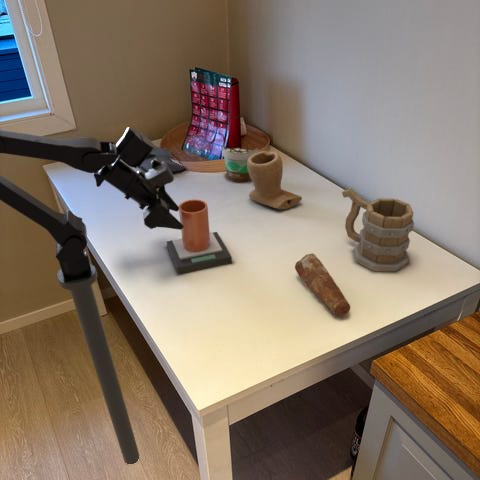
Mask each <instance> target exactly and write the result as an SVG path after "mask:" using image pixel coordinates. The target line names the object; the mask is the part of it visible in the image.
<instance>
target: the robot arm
mask: <svg viewBox="0 0 480 480" xmlns="http://www.w3.org/2000/svg"><path fill="white" fill-rule="evenodd" d="M154 145H155V144H154V143H153V141H152V140H151V139H150V138H149V137H147V136H146V135H145V134H144V133H143V132H141V131H139V130H136V129H133V128H132V127H130V126H128V127H126V129H125V131H124V133H123V135H122V136H121V137H120V138H119V140H118V141H117V142H116V141H109V140H108V141H104V140H103V141H102V140H98V139H96V138H95V137H91V136H88V137H87V136H86V137H83V136H81V137H78V136H77V137H76V136H75V137H70V138H63V139H62V138H54V137H49V136H41V135H36V134H30V133H22V132H17V131H12V130H11V131H10V130H4V129H1V128H0V154H5V155H11V156H18V157H19V156H20V157H25V158H33V159H38V160H39V159H40V160H45V161H46V160H47V161H54V162H58V163H62V164H65V165H67V166H69V167H71V168H73V169H75V170H78V171H81V172H84V173H88V174H93V178H94V179H95V185H96V187H98V188H99V187H101V185H102V184H103V183H104V181H105V182H107V184H109V185H111V186H112V187H113V188H115V189H116V190H118V191H119V192H121V193H122V194H123V195H124V199H126V200H127V201H129V199H130V200H132V201H134V202H135V203H137V204H138V208H139V209H140V210H142V211H143V210H144V209H145V210H144V211H143V212H142V216H143V223H144V226H145V227H147V228H148V229H150V230H153V229H156V228H165V229H173V230H179V231H180V230H181V229H182V228H183V227H184V226H183V225H182V224H181V223H180V220H178V218H176V217H175V216H174V215H173V214H172V212H170V211H174V212H179V205H178V204H177V203H176V202H175V201H174V199H173V198H172V197H171V196H170V195H169V193H168V192H167V191H166V185H168V184H171V183H172V182H173V181H174V180H175V177H174V172H171V170H170V168H169V167H168V164H167V163H166V162H164V161H160V160H159V159H157V158H156V159H154V160H152V161H151V162H152V169H151V168H150V169H149V171H148V172H147V171H146V172H143V170H139V169H138V170H137V171H136V170H135V169H137V168H141V164H142V163H143V162H144V161H145V159H146V158H147V157H148V156H149V154H150V153H151V152H152V151H153V149H154V148H155V146H156V145H155V146H154ZM133 168H134V169H133ZM0 201H1V202H2V203H4V204H5V205H7V206H9V208H12V209H13V210H15V211H17V212H18V213H20V214H21V215H23V216H25V217H26V218H28V219H29V220H31V221H33V222H34V223H35V224H37V225H39V226H40V227H42V228H43V229H45V230H46V231H47V232H48V233H49V235H50V236H51V238H53V240H54V241H55V243H56V245H55V258H56V259H57V261H58V264H59V267H60V269H61V270H62V273H63V280H64V282H68V281H73V280H78V279H83V278H88V277H90V276H91V275H90V271H91V265H90V263H91V262H90V259H89V254H88V252H87V251H85V249H86V248H87V246H88V229H87V225H86V224H85V223H84V222H83V218H82V217H79V216H77V215H76V214H74V213H73V212H72V211H71V210H69V209H67V210H66V211H65V213H63V212H58V211H55V210H54V209H52V208H51V207H49V206H48V205H46V204H45V203H44V202H42V201H41V200H39V199H37V198H36V197H34V195H32V194H30V193H29V192H27V191H25V190H24V189H22V188H21V187H20V186H19V185H17V184H15V183H13V181H10V180H9V179H8V178H6V177H5V176H3V175H2V174H0ZM146 207H147V208H146Z"/></svg>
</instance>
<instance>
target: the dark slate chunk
mask: <svg viewBox="0 0 480 480" xmlns="http://www.w3.org/2000/svg"><path fill="white" fill-rule="evenodd" d="M154 146H155V148H154V149H153V151H152V152H151V153H150V154H149V156H148V157H147V158H146V159H145V161H144V162H143V163H142V164H141V166H140V168H141V169H143V170H144V171H146V173H147V172H148V171H149V169H150V168H151V169H152V162H151V161H152V160H154V159H156V158H157V159H159V160H160V161H164V162H166V163H167V164H168V167H169V168H170V170H171V172H172V173H177V172H181V171H185V170H186V169H187V168H186V167H185V166H184V165H183V164H182V166H181V165H179V164H177V163H175V162H173V161H172V160H171V159H170V158H174V157H173V155H174V154H173V153H172V152H171V151H170V150H169V149H168V148H166V147H160V146H157V145H155V144H154ZM167 149H168V150H167ZM171 153H172V154H173V155H172V154H171Z"/></svg>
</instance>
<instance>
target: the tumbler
mask: <svg viewBox="0 0 480 480" xmlns="http://www.w3.org/2000/svg"><path fill="white" fill-rule="evenodd" d="M178 207H179V210H178V214H179V222H180V223H181V224H182V225H183V226H184V227H183V228H182V229H181V231H180V232H181V238H182V240H183V247H184V249H186V250H187V251H190V252H201V251H204V250H206V249H208V248H209V246H210V233H211V232H210V222H209V220H210V219H209V206H208V203H207V202H206V201H204V200H201V199H188V200H185V201H182V202H181V203H180V204H179V205H178Z"/></svg>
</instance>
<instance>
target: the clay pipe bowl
mask: <svg viewBox="0 0 480 480" xmlns="http://www.w3.org/2000/svg"><path fill="white" fill-rule="evenodd" d="M283 168H284V166H283V159H282V157H281V156H280V154H279V153H278V152H276V151H268V150H261V151H259V152H258V153H255V154H253V155H252V156H250V157H249V159H248V161H247V169H248V172H249V175H250V178H251V180H250V181H251V182H252V184H253V186H254V189H253V190H252V191H250V192H249V194H248V197H249V199H251V200H252V201H254V202H255V203H259V204H261V205H263V206H267V207H270V208H273V209H276V210H287V209H290V208H292V207H294V206H296V205H298V204H299V203H300V202H301V201H302V199H303V196H301V195H298V194H295V193H293V192H290V191H289V190H285V189H282V187H281V186H282V179H283V171H284V170H283Z"/></svg>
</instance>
